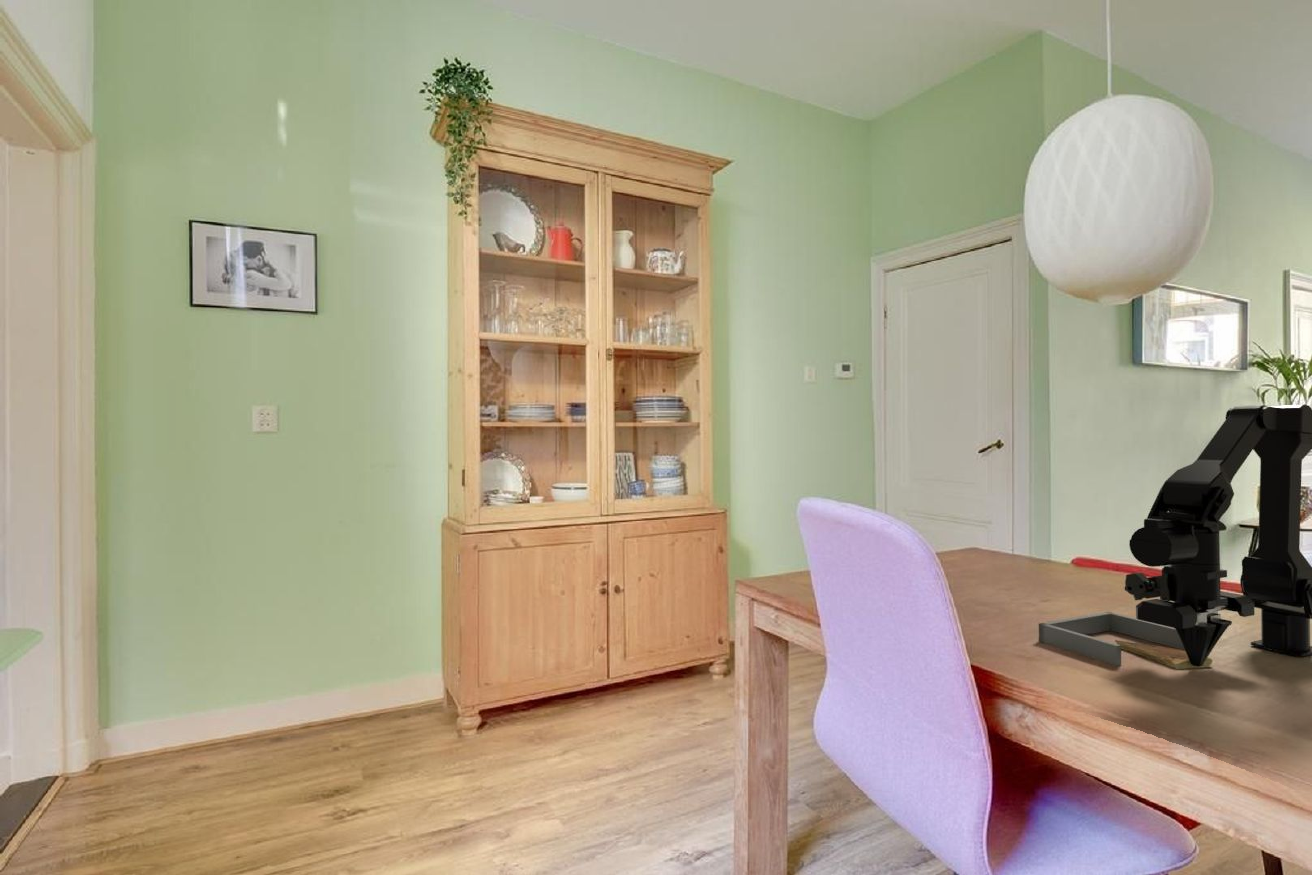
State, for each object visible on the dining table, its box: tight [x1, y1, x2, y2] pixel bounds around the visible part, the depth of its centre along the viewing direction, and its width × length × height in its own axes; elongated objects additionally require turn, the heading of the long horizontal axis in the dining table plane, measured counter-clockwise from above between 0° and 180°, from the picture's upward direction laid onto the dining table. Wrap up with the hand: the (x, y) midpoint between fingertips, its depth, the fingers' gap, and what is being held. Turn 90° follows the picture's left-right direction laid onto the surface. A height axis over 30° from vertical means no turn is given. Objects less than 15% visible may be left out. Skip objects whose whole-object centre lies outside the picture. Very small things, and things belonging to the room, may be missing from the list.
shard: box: [1114, 639, 1214, 670], centre depth 103 cm, size 11×8×2 cm
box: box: [1038, 611, 1185, 666], centre depth 108 cm, size 18×13×3 cm
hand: (1196, 665), depth 97 cm, fingers closed
